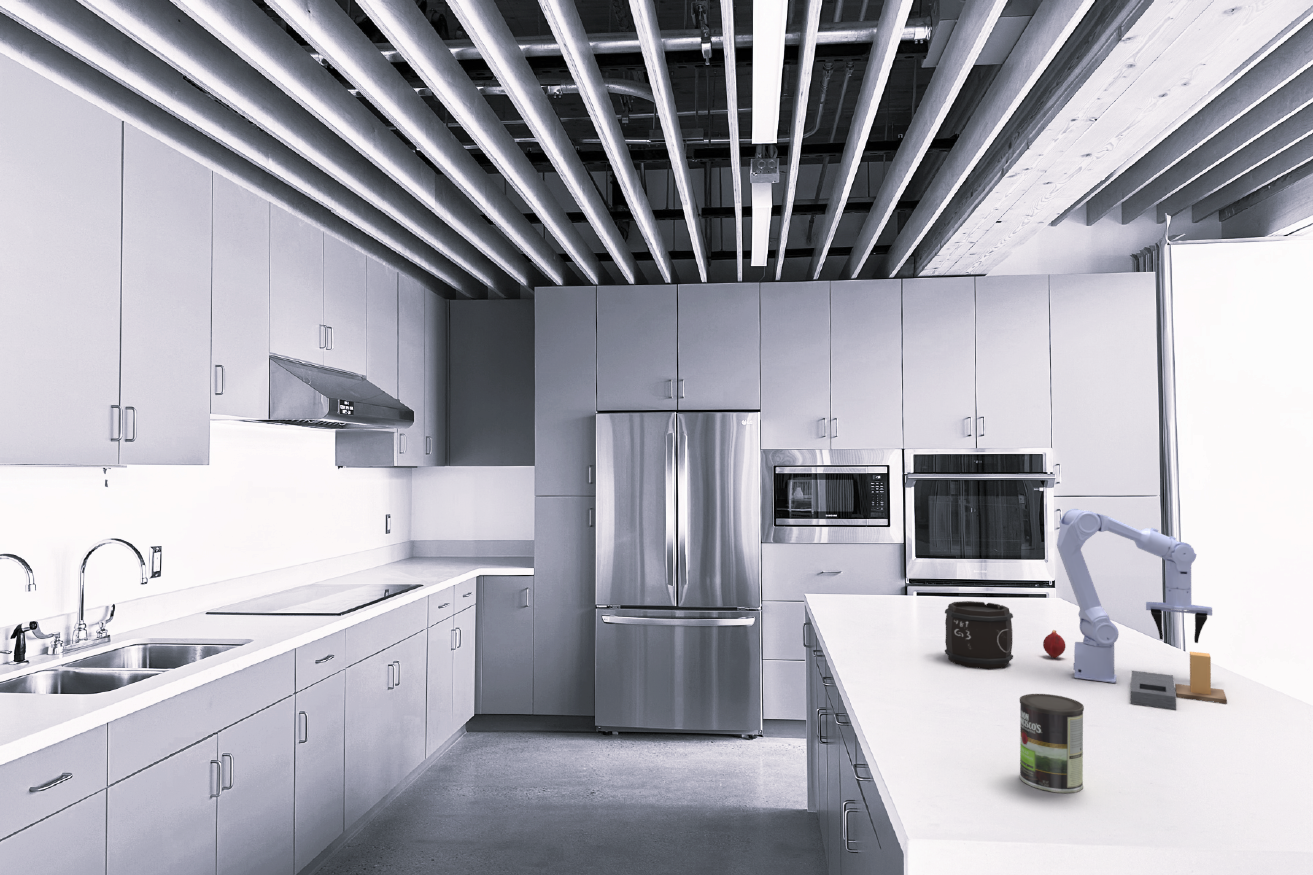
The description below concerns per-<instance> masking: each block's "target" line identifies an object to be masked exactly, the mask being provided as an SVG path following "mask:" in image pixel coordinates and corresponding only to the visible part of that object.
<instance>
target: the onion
mask: <svg viewBox="0 0 1313 875" xmlns="http://www.w3.org/2000/svg"><path fill="white" fill-rule="evenodd" d="M1042 646H1043V649H1044V651H1045V652H1046V653H1047V655H1048V656H1050V657H1051V658H1052V659H1057V658H1059V657H1060V656H1061V655H1062V654H1064V652H1065V650H1066V648H1067V647H1066V646H1067V645H1066V641H1065V639H1064V638H1063V637H1062V636H1061V635H1060V634H1058V633H1057V630H1055V629H1053V630H1052V631H1051V633H1050V634H1048V635H1046V637H1045V638H1044V639H1043V643H1042Z"/></svg>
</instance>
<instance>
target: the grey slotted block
mask: <svg viewBox="0 0 1313 875" xmlns="http://www.w3.org/2000/svg"><path fill="white" fill-rule="evenodd" d="M1130 679H1131V680H1130V705H1137V706H1143V707H1151V708H1159V709H1165V710H1174V711H1176V710H1177V696H1176V689H1175V680H1174V675H1172V674H1164V673H1154V672H1146V671H1138V670H1131V678H1130Z"/></svg>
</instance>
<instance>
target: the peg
mask: <svg viewBox="0 0 1313 875" xmlns="http://www.w3.org/2000/svg"><path fill="white" fill-rule="evenodd" d="M1211 660H1212V658H1211V655H1210V652H1209V653H1207V652H1199V651H1198V652H1197V651H1196V652H1195V651H1189V685H1190V690H1191V692H1193V693H1201V694H1209V695H1211V688H1212V687H1211V686H1212V682H1211V680H1212V679H1211V678H1212V677H1211V675H1212V673H1211V669H1212V668H1211V664H1212V663H1211V662H1212V661H1211Z"/></svg>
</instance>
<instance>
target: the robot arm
mask: <svg viewBox="0 0 1313 875" xmlns="http://www.w3.org/2000/svg"><path fill="white" fill-rule="evenodd" d="M1058 522H1059V524H1058V525H1059V531H1058V535H1057V536H1058V537H1057V542H1056V547H1057V550H1058V553H1059V555H1060V556H1059V557H1060V559H1061V561H1062V564H1063V566H1064V570H1065V572H1066V575H1067V577H1068V581H1069V583H1070V585H1071V588H1072V591H1073V594H1074V597H1075V599H1076V602H1077V604H1078V607H1079V611H1078V617H1079V630H1080V633H1081V634H1082V635H1083V636H1084V637H1083V640H1082V641H1075V642H1074V655H1073V656H1074V662H1073V670H1074V676H1073V677H1074V679H1081V680H1089V681H1096V682H1097V681H1098V682H1104V683H1105V682H1106V683H1112V684H1116V683H1117V674H1115V643H1116V642H1117V640H1118V638H1119V636H1120V635H1119V634H1120V633H1119V630H1118V627H1117V626H1116V624H1114V623H1113V622H1112V621H1111V619H1110V616H1109V615H1108V613H1107V612H1106V610H1105V609H1104V608H1103V606H1102V604H1101V601H1100V599H1099V598H1100V597H1099V596H1098V593H1097V590H1096V587H1095V585H1094V582H1093V578H1092V577H1091V574H1090V571H1089V569H1088V565H1087V563H1086V560H1085V557H1084V556H1083V552H1082V547H1083V546H1084V545H1085V543H1086V541H1088V540H1089V539H1090V538H1092V536H1094V535H1095V534H1096V533H1097V532H1099V533H1104V532H1109V533H1112V534H1115V535H1116V536H1117V535H1118V536H1120V537H1123V538H1125V539H1128V540H1130V541H1133V542H1134V544H1135V545H1136V547H1137V549H1139V550H1141V551H1144V552H1147V553H1149V554H1152V555H1154V556H1156V557H1158V558H1160V559H1163V561H1165V565H1164V566H1165V570H1164V571H1165V572H1164V574H1165V580H1164V583H1165V586H1164V587H1165V590H1164V591H1165V592H1164V593H1165V602H1162V601H1161V602H1160V601H1159V602H1158V601H1157V602H1154V601H1153V602H1152V601H1146V602H1145V610H1146V611H1150V615H1151V617H1152V618H1153V620H1154V622H1155V625H1156V629H1157V631H1158V635H1159V640H1164V634H1163V612H1169V613H1171V612H1172V613H1181V614H1192V615H1193V614H1194V622H1195V623H1194V626H1195V627H1194V635H1193V636H1194V638H1193V639H1194V643H1195V644H1198V643H1199V638H1200V634H1201V631H1202V630H1203V627H1204V625H1205V623H1206V622H1207V621H1208V616H1210V617H1212V616H1213V607H1212V606H1204V605H1196V604H1192V564H1193V563H1194V562H1195V560H1196V558H1197V553H1196V552H1195V550H1194V547H1192V545H1191V544H1189V543H1187V542H1182V541H1178V540H1177V537H1176V536H1173V535H1170V536H1168V535H1165V534H1163V533H1160V532H1159V529H1157V528H1154V527H1151V528H1149V527H1145V528H1143V529H1138V528H1135V527H1133V526H1131V525H1129V524H1126V523H1124V522H1122V521H1121V520H1118V519H1115V518H1113V517H1111V516H1108V515H1104V514H1101V513H1096V512H1094V511H1092V510H1082V509H1078V508H1071V509H1068V510H1066V511H1065V513H1064V514H1063V516H1062V517H1061V518H1060V520H1059V521H1058Z"/></svg>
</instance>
